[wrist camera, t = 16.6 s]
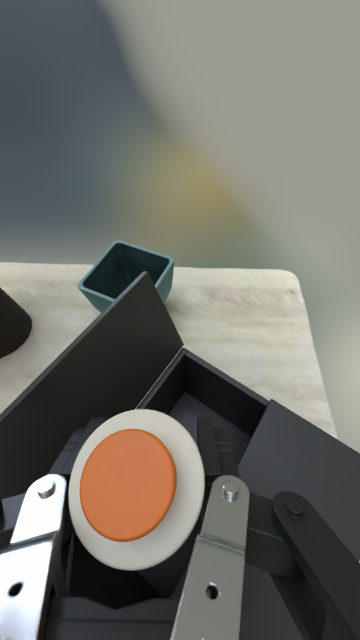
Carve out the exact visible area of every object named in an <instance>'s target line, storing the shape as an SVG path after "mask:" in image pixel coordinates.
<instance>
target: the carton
mask: <svg viewBox="0 0 360 640" xmlns="http://www.w3.org/2000/svg"><path fill="white" fill-rule="evenodd" d="M137 409H149V410H155V411H158V412H162V413H164V414H166V415H168V416H170V417H172V418H173V419H175V420H176V421H178V422H179V423H180V424H181V425H182V426H183V427H184V428H185V429H186V430H187V431H188V432H189V434H190V435H191V437H192V438H193V440H194V442H195V443H196V445H197V416H212V419H213V425H214V427H223V428H224V429H225V430H226V431H227V432H228V434H229V436H230V440H231V444H232V448H233V452H234V456H235V460H236V464H237V468H238V472H239V476H240V479H241V480H242V481H243V482H244V483H245V484H246V485H247V487H248V489H249V491H251V492H252V493H254V494H256V495H259V496H261V497H265V498H268V499H271V500H273V498H274V496H275V495H276V494H278V493H280V492H284V491H289V492H293V493H296V494H299V495H300V496H302V497H304V498H305V499H306V500H307V501H308V502H309V503H310V504H311V505H312V506H313V507H314V509H315V510H316V511H317V512H318V513H319V515H320V516H321V517H322V518H323V520H324V521H325V522H326V523H327V524H328V526H329V527H330V528H331V529H332V530H333V532H334V533H335V534H336V535H337V537H338V538H339V539H340V540H341V541H342V543H343V544H344V545H345V546H346V548H347V549H348V550H349V551H350V552H351V554H352V555H353V556H354V557H355V558H356V560H357V561H358V562H359V561H360V454H359V453H358V452H356V451H355V450H353V449H352V448H350V447H348V446H347V445H345V444H343V443H342V442H340V441H339V440H337V439H335V438H334V437H332V436H331V435H329V434H327V433H326V432H324V431H323V430H321V429H319V428H318V427H316V426H315V425H313V424H311V423H310V422H308V421H306V420H305V419H303V418H302V417H300V416H298V415H297V414H295V413H294V412H292V411H290V410H289V409H287V408H286V407H284V406H282V405H281V404H279V403H277V402H276V401H274V400H273V399H271V400H270V401H268V400H267V399H265V398H263V397H262V396H260V395H259V394H257V393H255V392H254V391H252V390H251V389H249V388H247V387H246V386H244V385H243V384H241V383H239V382H238V381H236V380H235V379H233V378H231V377H230V376H228V375H227V374H225V373H223V372H222V371H220V370H219V369H217V368H215V367H214V366H212V365H211V364H209V363H207V362H206V361H204V360H203V359H201V358H199V357H198V356H196V355H195V354H193V353H191V352H190V351H187V349H185V348H182V349H181V350H180V352H179V353H178V354H177V356H176V357H175V358H174V360H173V361H172V362H171V364H170V365H169V366H168V368H167V369H166V370H165V372H164V373H163V374H162V375H161V377H160V378H159V379H158V381H157V382H156V383H155V385H154V386H153V387H152V389H151V390H150V391H149V393H148V394H147V395H146V397H145V398H144V399H143V401H142V402H141V403H140V405H139V406H138V407H137ZM137 409H136V410H137ZM202 524H203V523H202V519H201V512H200V515H199V518H198V520H197V522H196V524H195V527H194V529H193V530H192V532H191V534H190V535H189V537H188V539H187V540H186V541H185V542H184V544H183V545H182V546H181V547H180V548H179V549H178V550H177V551H176V552H175V553H174V554H173V555H172V556H170V557H169V558H167V559H166V560H165V561H163V562H161V563H159V564H157V565H155V566H153V567H150V568H146V569H143V570H135V571H128V570H120V569H116V568H112V567H110V566H108V565H105V564H103V563H102V562H100V561H99V560H97V559H96V558H95V557H94V556H92V555H91V554H90V553H89V552H88V551H87V549H86V548H85V547H84V546H83V544H82V543H81V541H80V539H79V538H78V536H77V534H76V531H75V529H74V528H73V532H74V547H73V558H72V568H71V579H70V589H69V597H85V598H88V599H90V600H93V601H95V602H98V603H100V604H103V605H105V606H108V607H110V608H113V609H121V608H124V607H127V606H130V605H133V604H136V603H139V602H142V601H146V600H149V599H152V598H181V594H182V590H183V586H184V582H185V578H186V575H187V571H188V567H189V563H190V559H191V555H192V551H193V547H194V543H195V540H196V537H197V535H198V534H199V535H200V532H201V528H202ZM239 640H303V638H302V636H301V634H300V632H299V630H298V628H297V626H296V624H295V622H294V620H293V619H292V617H291V615H290V613H289V611H288V609H287V607H286V605H285V603H284V601H283V599H282V597H281V595H280V593H279V591H278V589H277V587H276V585H275V583H274V582H273V580H272V578H271V576H270V574H269V572H268V571H265V570H263V569H260V568H258V567H255V566H253V565H250V564H248V563H245V564H244V578H243V591H242V605H241V618H240V631H239Z"/></svg>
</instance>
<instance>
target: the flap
mask: <svg viewBox="0 0 360 640" xmlns="http://www.w3.org/2000/svg"><path fill="white" fill-rule="evenodd" d="M183 345H184V344H183V342H182V340H181V338H180V336H179V334H178V332H177V330H176V328H175V326H174V324H173V322H172V320H171V318H170V316H169V314H168V312H167V310H166V308H165V306H164V304H163V302H162V300H161V298H160V296H159V293H158V291H157V289H156V287H155V285H154V283H153V281H152V279H151V277H150V275H149V273H148V272H146V271H143V272H142V273H141V274H140V275H139V276H138V277H137V278H136V279H135V280H134V281H133V282H132V283H131V284H130V285H129V286H128V287H127V288H126V289H125V290H124V291H123V292H122V293H121V294H120V295H119V296H118V297H117V298H116V299H115V300H114V301H113V302H112V303H111V304H110V305H109V306H108V307H107V308H106V309H105V310H104V311H103V312H102V313H101V314H100V315H99V316H98V317H97V318H96V319H95V320H94V321H93V322H92V323H91V324H90V325H89V326H88V327H87V328H86V329H85V330H84V331H83V332H82V333H81V334H80V335H79V336H78V337H77V338H76V339H75V340H74V341H73V342H72V343H71V344H70V345H69V346H68V347H67V348H66V349H65V350H64V351H63V352H62V353H61V354H60V355H59V356H58V357H57V358H56V359H55V360H54V361H53V362H52V363H51V364H50V365H49V366H48V367H47V368H46V369H45V370H44V371H43V372H42V373H41V374H40V375H39V376H38V377H37V378H36V379H35V380H34V381H33V382H32V383H31V384H30V385H29V386H28V387H27V388H26V389H25V390H24V391H23V392H22V393H21V394H20V395H19V396H18V397H17V398H16V399H15V400H14V401H13V402H12V403H11V404H10V405H9V406H8V407H7V408H6V409H5V410H4V411H3V412H2V413H1V414H0V496H1V499H5V498H9V497H13V496H16V495H20V494H23V493H26V492H27V490H28V489H29V487H30V486H31V485H32V484H33V483H34V482H35V481H37V480H38V479H40V478H42V477H44V476H46V475H47V474H48V472H49V471H50V469H51V467H52V466H53V464H54V463H55V461H56V459H57V458H58V456H59V455H60V453H61V451H63V448H64V447H65V445H66V444H67V442H68V440H69V439H70V437H71V435H72V434H73V433H74V432H75V431H76V430H78V429H79V428H80V427H87V425H88V423H89V422H90V420H91V418H92V417H93V416H108V417H109V419H110V418H112V417H114V416H116V415H118V414H120V413H123V412H126V411H130V410H135V408H136V407H137V406H138V404H139V403H140V402H141V400H142V399H143V398H144V396H145V395H146V394H147V392H148V391H149V390H150V388H151V387H152V386H153V384H154V383H155V382H156V381H157V379H158V378H159V377H160V375H161V374H162V373H163V371H164V370H165V369H166V367H167V366H168V365H169V363H170V362H171V361H172V359H173V358H174V357H175V355H176V354H177V353H178V351H179V350H180V349H181V348H182V346H183Z"/></svg>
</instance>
